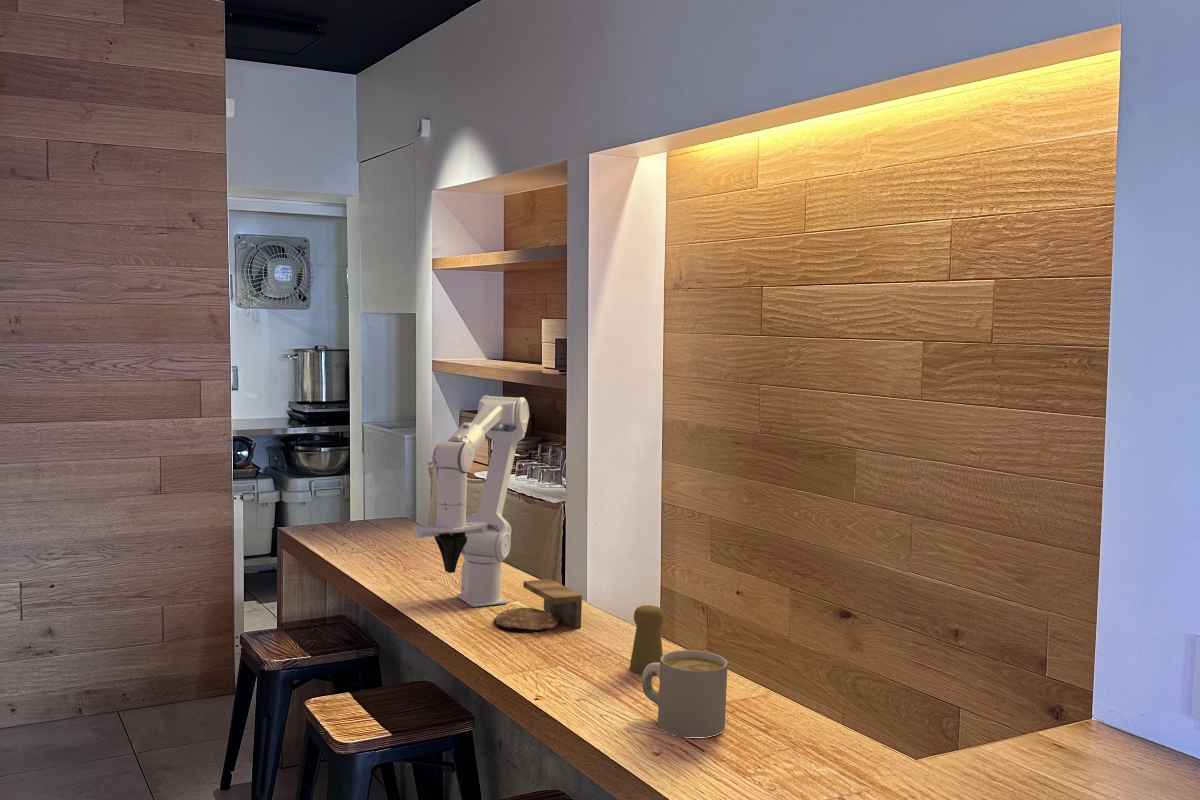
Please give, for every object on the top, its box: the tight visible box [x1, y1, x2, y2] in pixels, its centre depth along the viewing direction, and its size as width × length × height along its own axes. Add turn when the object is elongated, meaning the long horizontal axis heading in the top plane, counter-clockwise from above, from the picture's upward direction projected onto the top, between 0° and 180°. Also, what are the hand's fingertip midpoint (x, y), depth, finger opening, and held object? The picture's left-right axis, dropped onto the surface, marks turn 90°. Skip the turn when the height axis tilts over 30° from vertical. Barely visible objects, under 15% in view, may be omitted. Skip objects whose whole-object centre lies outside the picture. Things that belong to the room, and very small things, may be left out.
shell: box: [494, 607, 560, 634], centre depth 205 cm, size 12×13×4 cm
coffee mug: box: [641, 649, 728, 737], centre depth 156 cm, size 13×10×10 cm
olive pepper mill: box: [628, 604, 665, 676], centre depth 180 cm, size 6×6×11 cm
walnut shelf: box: [522, 578, 583, 629], centre depth 208 cm, size 14×6×6 cm, turn 29°
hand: (449, 571), depth 204 cm, fingers closed
